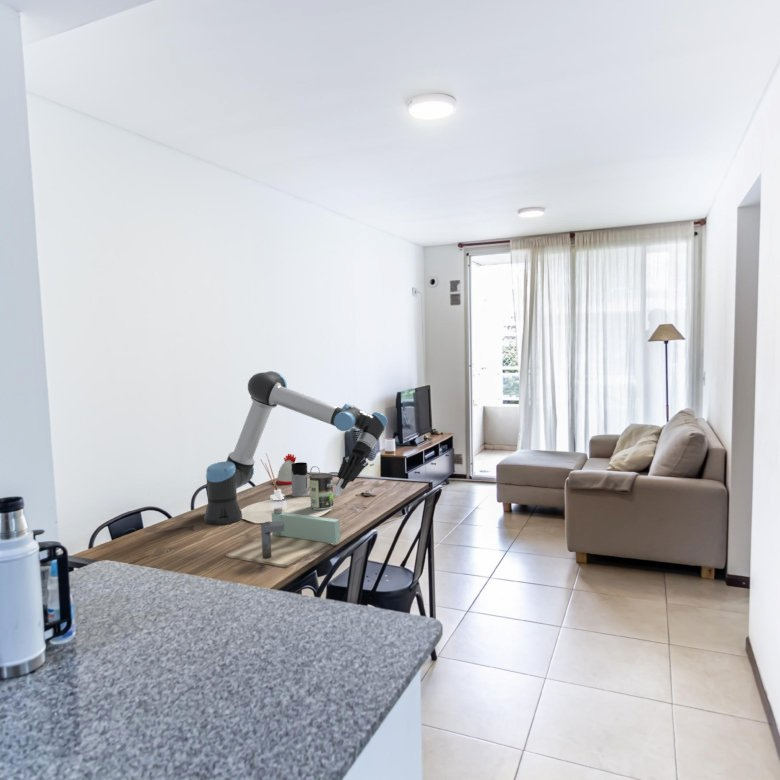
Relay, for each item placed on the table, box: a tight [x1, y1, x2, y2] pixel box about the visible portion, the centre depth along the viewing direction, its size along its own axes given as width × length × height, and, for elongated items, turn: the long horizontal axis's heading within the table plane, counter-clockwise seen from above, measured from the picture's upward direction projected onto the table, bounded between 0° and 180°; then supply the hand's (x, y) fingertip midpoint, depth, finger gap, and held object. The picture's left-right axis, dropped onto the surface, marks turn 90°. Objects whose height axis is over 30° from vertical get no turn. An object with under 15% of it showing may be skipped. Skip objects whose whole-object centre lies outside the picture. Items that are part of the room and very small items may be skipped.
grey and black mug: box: [291, 461, 321, 498], centre depth 279 cm, size 9×14×15 cm, turn 87°
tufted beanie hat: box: [277, 453, 298, 486], centre depth 308 cm, size 14×14×15 cm
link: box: [271, 511, 341, 545], centre depth 211 cm, size 28×5×8 cm, turn 63°
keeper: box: [260, 521, 285, 559], centre depth 193 cm, size 8×5×12 cm, turn 98°
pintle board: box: [225, 507, 331, 568], centre depth 203 cm, size 26×28×11 cm
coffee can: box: [308, 472, 335, 511], centre depth 256 cm, size 10×10×14 cm
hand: (335, 494), depth 224 cm, fingers closed
